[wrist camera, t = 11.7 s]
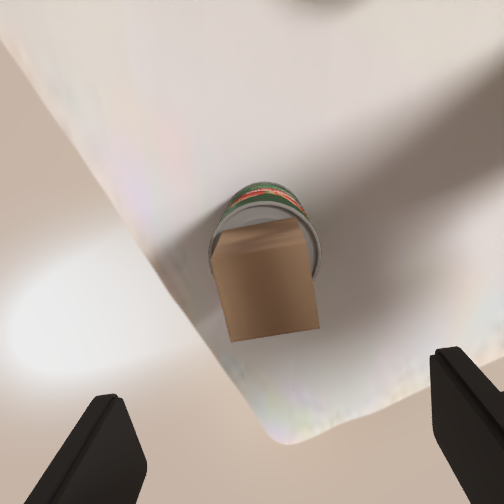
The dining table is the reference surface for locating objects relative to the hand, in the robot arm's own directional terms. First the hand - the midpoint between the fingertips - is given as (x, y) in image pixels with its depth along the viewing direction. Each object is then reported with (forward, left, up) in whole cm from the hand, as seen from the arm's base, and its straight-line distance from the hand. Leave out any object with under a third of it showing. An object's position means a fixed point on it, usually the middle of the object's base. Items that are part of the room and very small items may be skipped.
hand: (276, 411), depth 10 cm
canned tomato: (0, 0, -26) cm, 26 cm away
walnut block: (0, 0, -15) cm, 15 cm away
